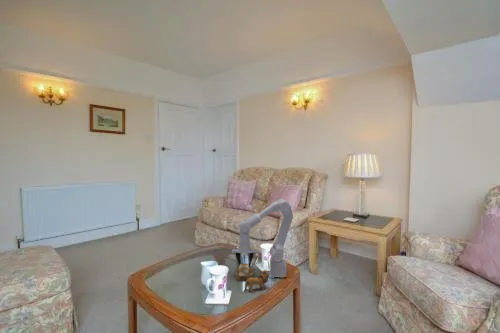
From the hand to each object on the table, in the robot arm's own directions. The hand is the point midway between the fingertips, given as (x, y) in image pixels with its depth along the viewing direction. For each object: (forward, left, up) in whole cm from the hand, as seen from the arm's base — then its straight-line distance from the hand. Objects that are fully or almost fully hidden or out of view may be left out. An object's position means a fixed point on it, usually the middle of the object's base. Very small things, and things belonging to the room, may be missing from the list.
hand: (244, 266), depth 150 cm
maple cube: (0, +3, -3) cm, 5 cm away
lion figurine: (-7, +14, -6) cm, 17 cm away
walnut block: (0, -1, -7) cm, 7 cm away
